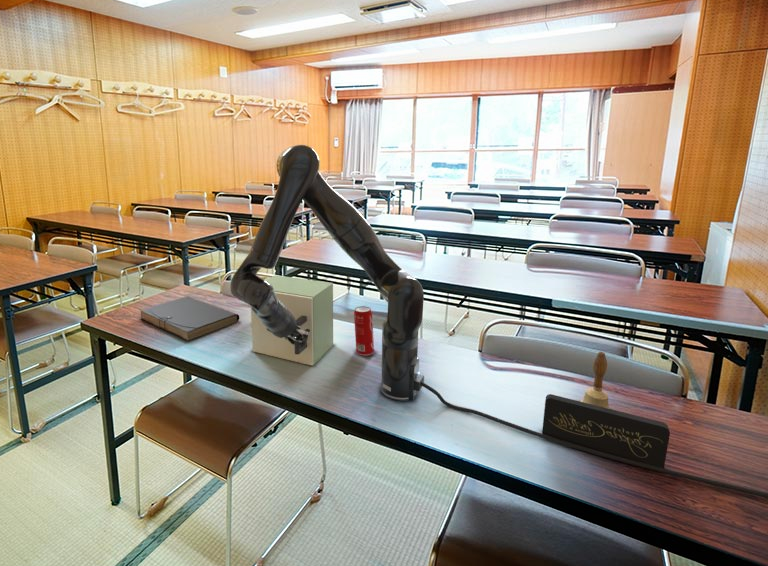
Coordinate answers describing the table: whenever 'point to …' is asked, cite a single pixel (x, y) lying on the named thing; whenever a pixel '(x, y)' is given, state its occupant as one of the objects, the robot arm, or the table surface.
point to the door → (279, 346)
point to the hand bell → (597, 384)
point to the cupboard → (321, 307)
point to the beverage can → (364, 330)
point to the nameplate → (606, 430)
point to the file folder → (188, 317)
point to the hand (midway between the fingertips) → (299, 342)
